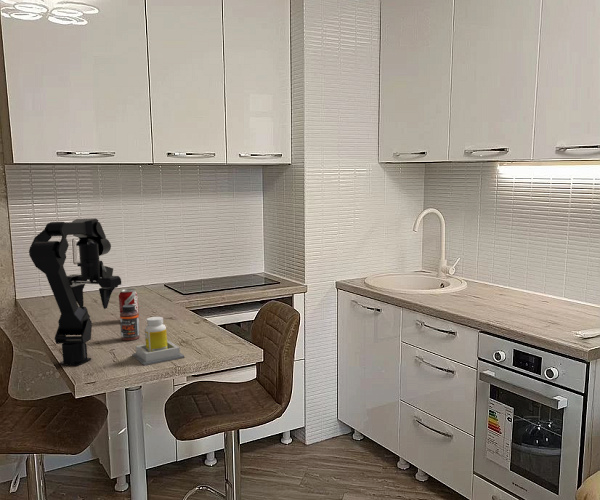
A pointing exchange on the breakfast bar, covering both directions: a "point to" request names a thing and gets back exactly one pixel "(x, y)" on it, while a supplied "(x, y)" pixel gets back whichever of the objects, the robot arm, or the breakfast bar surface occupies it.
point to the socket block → (157, 354)
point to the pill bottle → (155, 334)
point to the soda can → (128, 299)
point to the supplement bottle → (129, 323)
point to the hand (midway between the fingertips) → (93, 307)
